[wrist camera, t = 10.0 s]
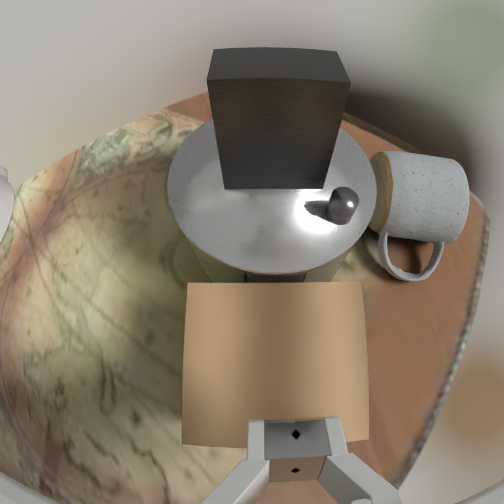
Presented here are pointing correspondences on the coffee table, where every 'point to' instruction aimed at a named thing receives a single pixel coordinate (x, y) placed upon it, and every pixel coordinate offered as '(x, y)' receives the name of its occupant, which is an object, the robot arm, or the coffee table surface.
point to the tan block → (272, 358)
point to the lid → (273, 165)
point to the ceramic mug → (418, 204)
